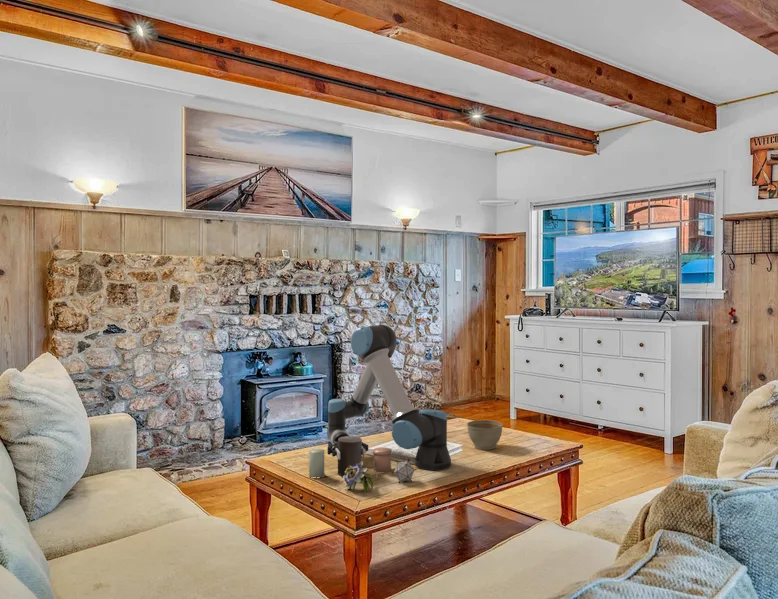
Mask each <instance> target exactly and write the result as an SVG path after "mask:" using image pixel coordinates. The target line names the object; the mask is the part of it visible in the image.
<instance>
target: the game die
mask: <svg viewBox="0 0 778 599" xmlns="http://www.w3.org/2000/svg"><path fill="white" fill-rule="evenodd" d="M395 462H396V466H395V468H394V470H393V472H391V474H394V476H395V477H396V478H397V479H398V484H401V482H407V481H409V482H410V483H412V482H413V481H412V479H413V475H414V472H415V471H417V468H414V467H413V466H412V464H411V463H410V459H408V460H406V461H398V460H396V461H395Z"/></svg>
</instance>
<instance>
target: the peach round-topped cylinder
mask: <svg viewBox="0 0 778 599" xmlns="http://www.w3.org/2000/svg"><path fill="white" fill-rule="evenodd" d="M392 453H393V451H392V448H389V447H376V448H373V449H372V454H373V471H374V472H375V471H376V473H380V472H384V473H389V472H390V471H392V466H391V465H392Z"/></svg>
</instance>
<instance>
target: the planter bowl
mask: <svg viewBox="0 0 778 599" xmlns="http://www.w3.org/2000/svg"><path fill="white" fill-rule="evenodd" d="M466 428H467V433H468V437H469V438H470V440H471V442H472V443H473V445H474V449H475V448H476V449H478V450H482V451H485V450H487V451H490V450H494V449H496V446H497V444H498V442H499V441H500V439H501V436H502V434H503V433H502V431H503V423H502V422H500V421H496V420H491V419H477V420H470V421H468V422H467V423H466Z"/></svg>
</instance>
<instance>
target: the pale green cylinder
mask: <svg viewBox="0 0 778 599" xmlns="http://www.w3.org/2000/svg"><path fill="white" fill-rule="evenodd" d="M308 465H309V466H308V476H310V477H316V478H317V477H323V476H324V475H325V473H326V472H325V450H324V449H321V448H315V449H314V448H313V449H310V450H308ZM310 477H309V478H310ZM324 477H325V476H324ZM324 477H323V478H324Z"/></svg>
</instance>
